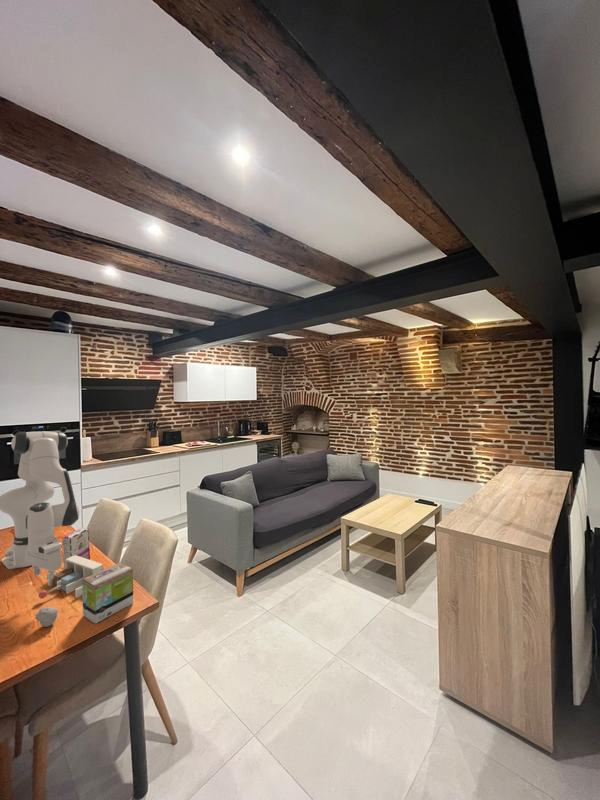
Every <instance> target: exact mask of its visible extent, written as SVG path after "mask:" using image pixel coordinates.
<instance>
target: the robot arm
mask: <svg viewBox="0 0 600 800" xmlns="http://www.w3.org/2000/svg"><path fill="white" fill-rule="evenodd" d="M68 442H69V441H68V437H67V435H66V434H65V433H63V432H59V431H57V432H55V431H46V430H42V431H27V432H26V431H19V432H16V433H15V434H14V435H13V437H12V439H11V442H10V444H11V449H12V451H13V452H14V453H15V454H20V458H19V465H18V471H17V476H18V477H19V479H21V480H23V481H25V485H24V486H21V487H17V488H14V489H12V490H9V491H7V492H5V493H3V494H1V495H0V512H1V513H3V514H7V515H9V516H10V518H11V519H12V521H13V526H14V536H13V541H12V542H13V543H12V544H11V545H10V546H8V548H7V549H6V550H7V551H6V552H5V553H4V556H5V557H3V558H1V560H0V561H2V562H1V563H2V564H3V565H4V566H5V568H6V569H7V570H13V569H19V568H26V567H30V566H31V568H32V570H33V574H34V575H35V576H38V575H41V573H42V572H41V571H42V570H41V569H43V570H46V571H47V572H48V573H47V575H46V579H47V581H48V580H51V579H53V578H54V574H55V573H56V572H55V571H57V570H59V569H61V567H62V565H63V558H62V557H63V556H62V554H63V553H62V550H61V549H63V542H61V541H60V540H59V539H58V538H57V537H56V534H55V528H60V527H69V526H73V525H74V524H75V523H76V522H78V520H79V518H80V510H79V509H80V508H79V506H78V504H77V502H76V500H75V499H76V498H75V494H74V490H73V485H72V481H71V478H70V475H69V474H70V473H69V472H68V470H67V469H66V468H63V467H62V465H61V464H60V453H62V452H64V451H65V450H66V449H67V447H68ZM52 483H54V484H57V485H59V486H60V488H61V491H62V492H61V493H62V496H63V499H64V502H63V503H58V504H54V505H53V504H51V503H49V502H46V501H49V500H50V499H51V498H53V496H54V495H55V488H54V486H53V484H52Z"/></svg>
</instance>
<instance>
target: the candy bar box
mask: <svg viewBox="0 0 600 800" xmlns="http://www.w3.org/2000/svg"><path fill="white" fill-rule="evenodd" d="M89 535H90V533H89V528H84V527H82V528H78V529H77V530H75V531H73V532H70V533H68V534H67V535H65V536H63V537H62V549H63V550H62V551H63V568H64V569H63V570H65V569H66V562H65V559H67V558H69V557H72V556H74V555H77V556H80V557H83V558H86V559H89V560H91V553H90V536H89Z"/></svg>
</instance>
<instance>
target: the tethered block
mask: <svg viewBox="0 0 600 800" xmlns="http://www.w3.org/2000/svg"><path fill="white" fill-rule="evenodd" d="M80 578H81V574H80V573H77V572H74V573H72V574H69V575H67V576H65V577H63V578H61V585H59V586H57V587H55V586H54V587H53V588H51V589H48V590H44V589H43V590H41V591H39V593H38V598H39V599H45V598H47V596H48V594H49V593H51V592H54V591H55V590H57V588H59V587H61V586H62V589H61V590H62V591H64V592H66V585H68V584H70V583H72V582H74V581H76V580H78V579H80Z"/></svg>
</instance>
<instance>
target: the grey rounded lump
mask: <svg viewBox="0 0 600 800" xmlns="http://www.w3.org/2000/svg"><path fill="white" fill-rule="evenodd" d="M58 612H59V609H58V608H56V607H49V606H45V607H41V608H39V610H38V612H37V613H36V614H35V615H34V616H35V620H36V621H37V622H39V624H40V626H41V627H45V628H46V627H50V626H52V625H53V624H54V623H55V622H56V620H57V618H58Z"/></svg>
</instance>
